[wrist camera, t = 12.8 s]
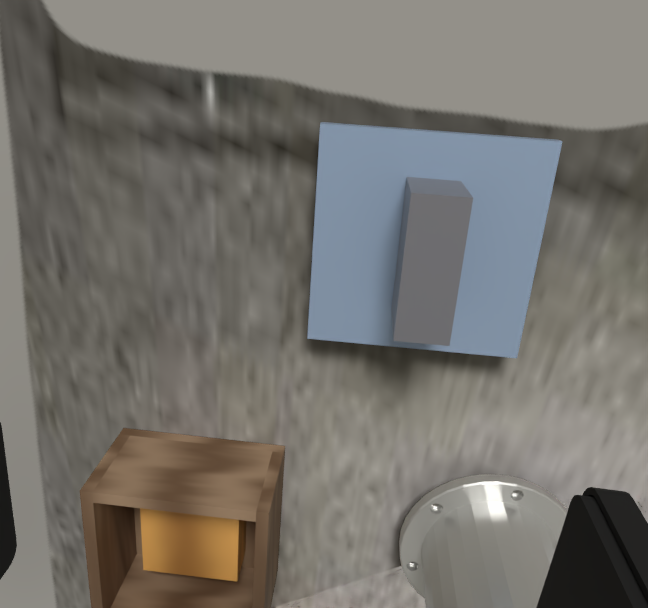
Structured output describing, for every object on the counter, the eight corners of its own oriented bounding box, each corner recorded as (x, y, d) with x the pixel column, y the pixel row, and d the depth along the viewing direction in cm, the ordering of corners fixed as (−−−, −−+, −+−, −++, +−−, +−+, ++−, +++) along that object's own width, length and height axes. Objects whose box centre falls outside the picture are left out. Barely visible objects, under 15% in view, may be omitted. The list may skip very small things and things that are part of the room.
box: (285, 446, 43) (269, 513, 37) (277, 570, 48) (262, 650, 41) (123, 428, 44) (79, 490, 37) (131, 552, 48) (93, 628, 42)
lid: (550, 136, 34) (590, 153, 28) (509, 342, 39) (534, 395, 32) (323, 119, 35) (312, 132, 28) (311, 323, 39) (298, 373, 33)
